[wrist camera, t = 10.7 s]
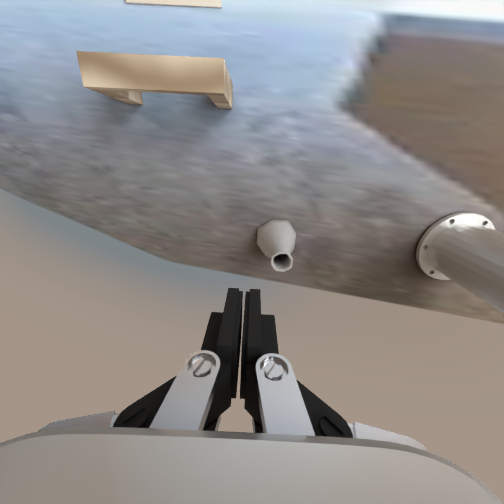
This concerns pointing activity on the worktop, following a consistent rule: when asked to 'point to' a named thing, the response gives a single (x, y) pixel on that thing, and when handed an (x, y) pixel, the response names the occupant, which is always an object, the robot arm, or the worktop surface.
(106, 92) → the bridge
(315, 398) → the robot arm
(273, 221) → the flask
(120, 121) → the worktop surface
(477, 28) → the worktop surface
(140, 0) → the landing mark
